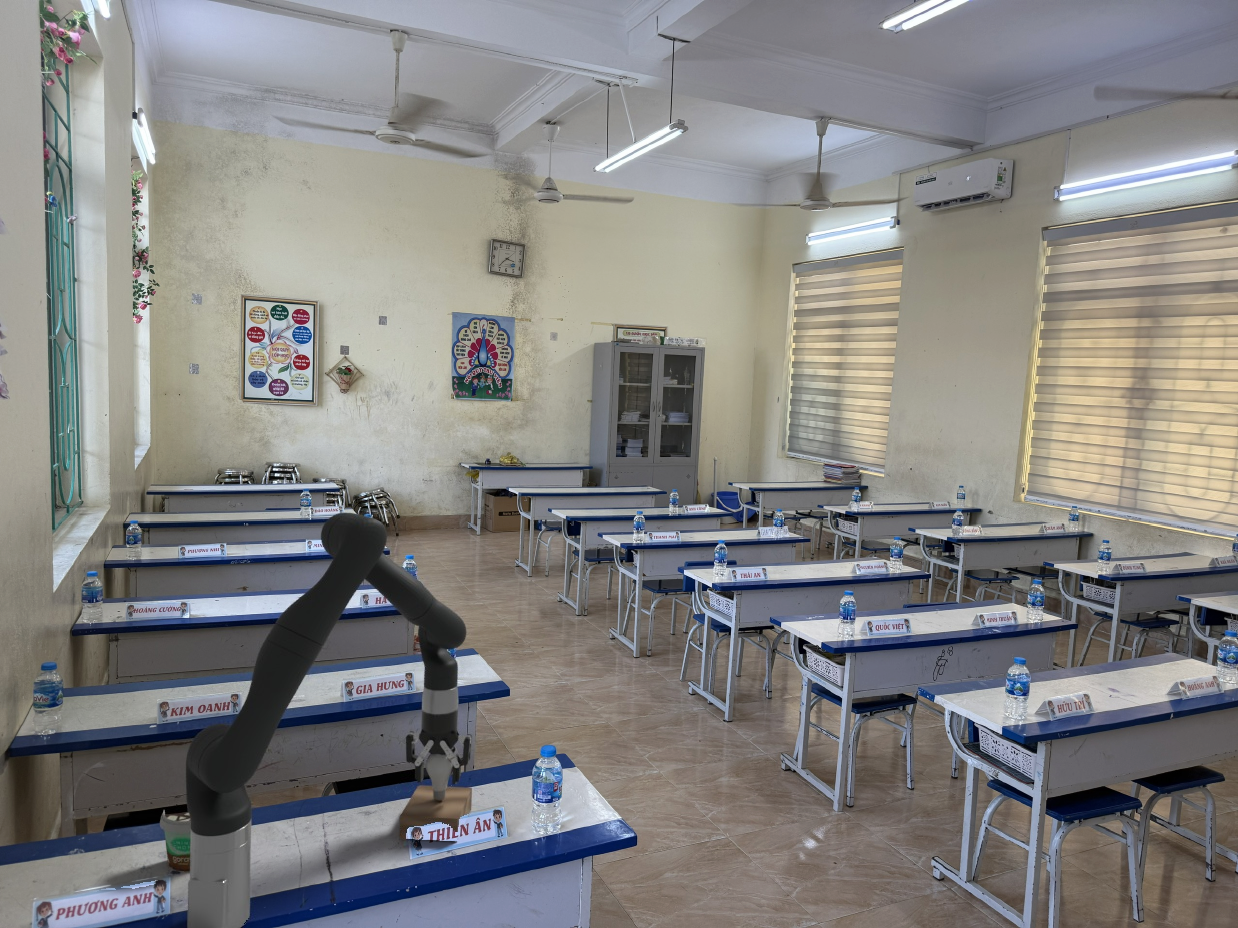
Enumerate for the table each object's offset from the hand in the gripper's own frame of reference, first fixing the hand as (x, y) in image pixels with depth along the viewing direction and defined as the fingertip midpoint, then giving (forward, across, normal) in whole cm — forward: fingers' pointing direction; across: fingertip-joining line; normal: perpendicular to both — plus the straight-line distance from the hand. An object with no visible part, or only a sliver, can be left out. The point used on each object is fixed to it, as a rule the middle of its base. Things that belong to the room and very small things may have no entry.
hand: (437, 781), depth 169 cm
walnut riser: (+9, 0, 0) cm, 9 cm away
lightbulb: (+4, 0, 0) cm, 4 cm away
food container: (+10, -42, -20) cm, 47 cm away
